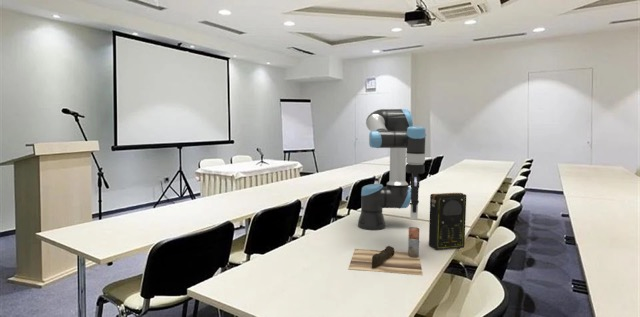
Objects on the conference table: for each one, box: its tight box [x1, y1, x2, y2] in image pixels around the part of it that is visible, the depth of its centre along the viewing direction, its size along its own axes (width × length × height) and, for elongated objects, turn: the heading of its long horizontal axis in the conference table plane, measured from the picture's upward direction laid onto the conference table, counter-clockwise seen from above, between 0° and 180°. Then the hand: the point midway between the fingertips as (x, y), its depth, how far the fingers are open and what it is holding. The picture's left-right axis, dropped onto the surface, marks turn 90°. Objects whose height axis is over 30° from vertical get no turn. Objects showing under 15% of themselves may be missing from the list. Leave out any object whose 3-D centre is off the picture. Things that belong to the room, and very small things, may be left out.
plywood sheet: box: [347, 248, 424, 276], centre depth 151 cm, size 24×28×1 cm
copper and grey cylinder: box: [407, 226, 420, 258], centre depth 156 cm, size 4×4×12 cm
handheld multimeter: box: [428, 192, 467, 251], centre depth 168 cm, size 16×9×25 cm, turn 105°
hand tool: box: [372, 245, 396, 268], centre depth 150 cm, size 19×4×5 cm, turn 145°
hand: (413, 218), depth 155 cm, fingers open, 2 cm apart
